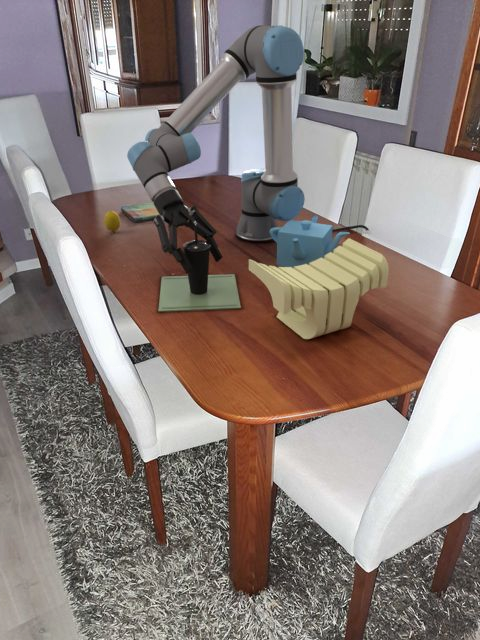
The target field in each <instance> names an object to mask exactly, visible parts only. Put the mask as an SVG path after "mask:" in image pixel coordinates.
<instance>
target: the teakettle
mask: <svg viewBox="0 0 480 640" xmlns="http://www.w3.org/2000/svg"><path fill="white" fill-rule="evenodd" d="M318 219H319V215H318V214H317V215H313V217H312V218H311V220H306V219H305V220H293V219H291V220H289V221H286V223H285V224H284V225H283V226H278V227H274V228H272V229H270V235H271V237H272V238H273V241H274V242H275V243H276V262H275V263H276V266H278V267H292V268H293V269H294V266H300V265H304V264H307V265H309V263H310V262H312V261H315V260H317V259H319V258H321V257H322V258H323V259H324V256H325V255H326V254H328V253H330V252H332V253H333V250H334V249H335V248H337V247H338V246H339V243H340V242H341V240H342V239H343V238H344V237H345V236H347V235H350V234H351V232H349V231H338V233H336V235H335V236H334V238H333V232H332V230H333V229H334V225H332V224H326V223H325V224H324V223H318ZM277 232H278V235H277ZM332 239H333V241H332Z"/></svg>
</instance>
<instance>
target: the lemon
mask: <svg viewBox="0 0 480 640" xmlns="http://www.w3.org/2000/svg"><path fill="white" fill-rule="evenodd" d="M103 220H104V226H105V228H106V229H107V230H108V231H110V232H112V233H115V232H116V231H118V230H119V229H120V227H121V218H120V216H119V213H117V212H115V211H113V210H109V211H108V212H106V213H105V215H104V219H103Z"/></svg>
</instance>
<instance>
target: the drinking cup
mask: <svg viewBox="0 0 480 640" xmlns="http://www.w3.org/2000/svg"><path fill="white" fill-rule="evenodd" d="M194 229H195V232H194V239H193V240H189V241H187V242H184V243H183V244H182V247H181V249H182V251H183V252H184V254H185V256H186V258H187V259H188V261H189V263H190V265H191V266H192V270H191V271H190V272H189V273H187V276H188V280H189V286H190V292H191V293H192V294H195V295H201V294H205V293H206V292H207V287H208V275H209V269H210V268H209V267H210V253H211V252H210V248H211V245H210V244H209V243H208V242H206V240H201V239H198V234H197V222H194Z"/></svg>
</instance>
